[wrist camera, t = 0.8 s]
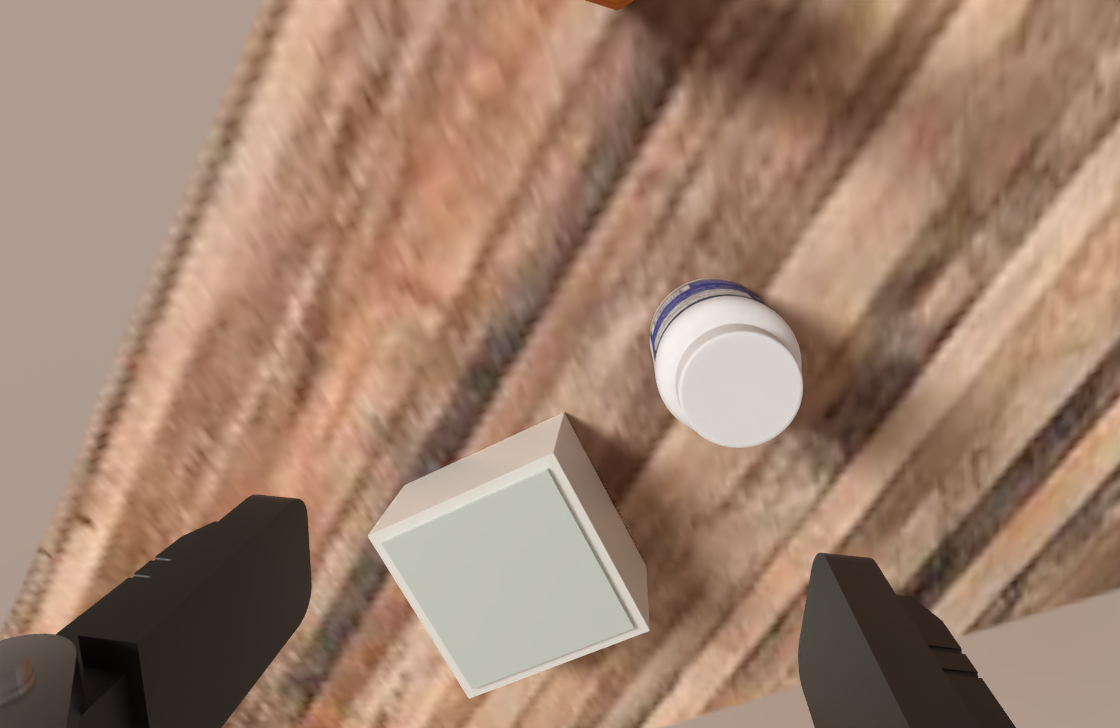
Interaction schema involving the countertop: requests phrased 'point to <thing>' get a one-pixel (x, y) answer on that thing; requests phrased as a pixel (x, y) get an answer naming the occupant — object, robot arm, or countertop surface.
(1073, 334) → the countertop surface
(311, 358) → the countertop surface
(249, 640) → the robot arm
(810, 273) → the countertop surface
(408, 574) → the pedestal
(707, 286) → the pill bottle
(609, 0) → the carrot
